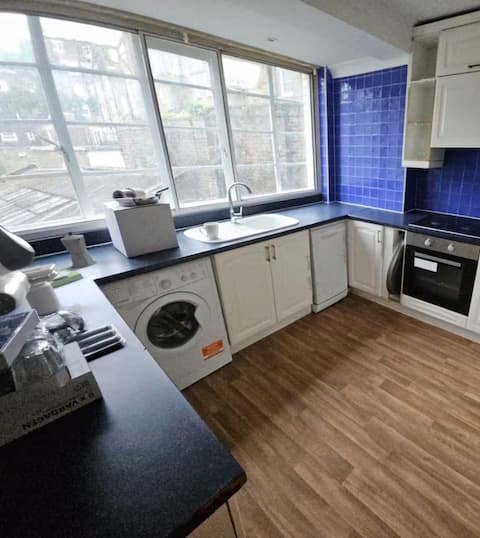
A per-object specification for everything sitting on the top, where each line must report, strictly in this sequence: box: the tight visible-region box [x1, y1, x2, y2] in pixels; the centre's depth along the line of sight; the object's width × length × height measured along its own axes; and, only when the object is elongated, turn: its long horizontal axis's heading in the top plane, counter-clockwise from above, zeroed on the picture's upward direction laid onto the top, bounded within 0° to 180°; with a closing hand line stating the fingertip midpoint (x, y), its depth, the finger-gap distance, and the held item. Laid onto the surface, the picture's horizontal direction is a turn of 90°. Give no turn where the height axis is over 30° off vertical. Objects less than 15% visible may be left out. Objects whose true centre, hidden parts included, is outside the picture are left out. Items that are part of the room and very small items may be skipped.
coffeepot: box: [60, 231, 95, 269], centre depth 153 cm, size 15×9×18 cm, turn 67°
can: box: [25, 281, 62, 316], centre depth 109 cm, size 8×8×12 cm
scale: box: [46, 268, 83, 289], centre depth 136 cm, size 14×14×3 cm
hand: (16, 272), depth 95 cm, fingers open, 8 cm apart
